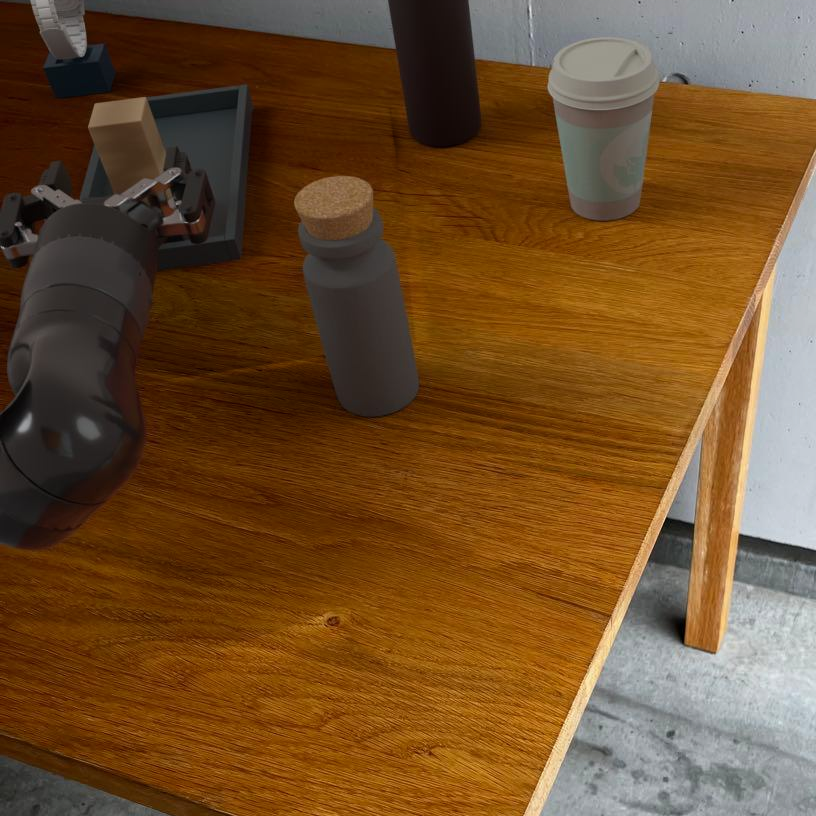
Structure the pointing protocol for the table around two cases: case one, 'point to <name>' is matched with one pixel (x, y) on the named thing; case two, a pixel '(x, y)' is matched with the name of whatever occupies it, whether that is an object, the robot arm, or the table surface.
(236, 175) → the tray
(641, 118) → the coffee cup
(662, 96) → the table surface
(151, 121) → the stamp
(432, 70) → the vinegar
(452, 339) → the table surface
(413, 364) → the bottle
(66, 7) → the watch
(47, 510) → the robot arm
